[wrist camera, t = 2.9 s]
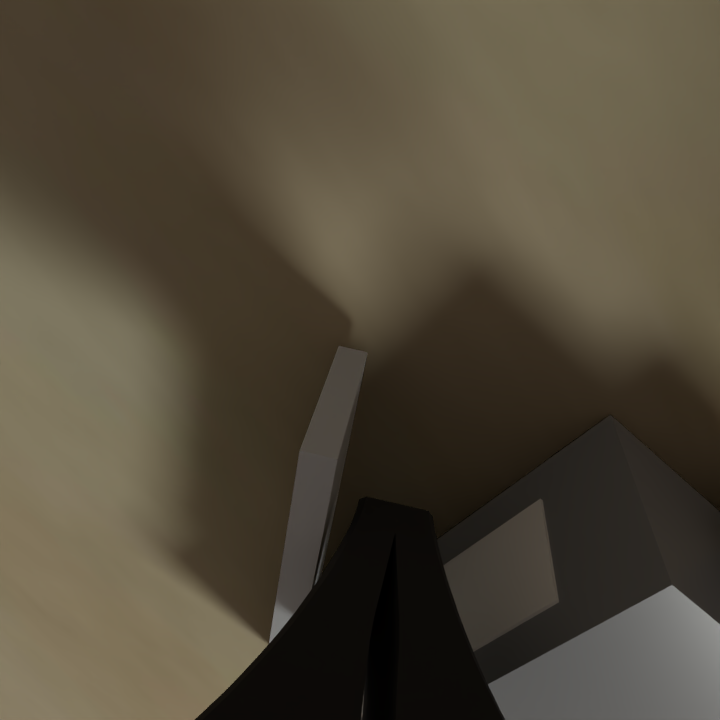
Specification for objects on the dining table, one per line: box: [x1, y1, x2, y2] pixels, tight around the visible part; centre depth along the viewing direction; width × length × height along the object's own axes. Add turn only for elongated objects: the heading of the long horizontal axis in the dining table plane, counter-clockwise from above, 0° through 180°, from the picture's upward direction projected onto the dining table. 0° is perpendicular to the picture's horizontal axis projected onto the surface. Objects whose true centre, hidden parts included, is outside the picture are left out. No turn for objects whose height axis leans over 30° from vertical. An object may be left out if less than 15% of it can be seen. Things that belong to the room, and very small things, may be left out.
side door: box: [269, 346, 368, 643], centre depth 13 cm, size 9×1×4 cm, turn 170°
